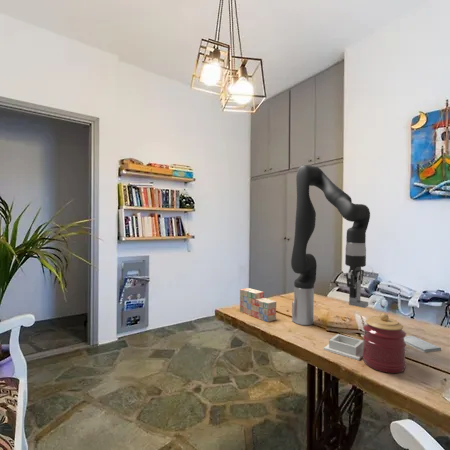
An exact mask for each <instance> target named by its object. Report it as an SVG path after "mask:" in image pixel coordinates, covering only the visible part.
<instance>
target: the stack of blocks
mask: <svg viewBox="0 0 450 450" xmlns="http://www.w3.org/2000/svg"><path fill="white" fill-rule="evenodd" d="M264 293H265V292H264V291H261V290H259V289H258V290H257V289H253V288H250V287H245V288H240V289H239V312H241V313H243V314H246V315H249V316H251V317H254V318H257V319H259V320H262V321H264V322H266V323H268V322H272V321H276V320H277V301H276V300H272V299H271V298H270V299H269V298H268V297H264V296H265V295H264Z"/></svg>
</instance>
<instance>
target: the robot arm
mask: <svg viewBox="0 0 450 450" xmlns="http://www.w3.org/2000/svg"><path fill="white" fill-rule="evenodd" d="M295 182H296V212H295V220H294V221H295V223H294V224H295V225H294V226H295V227H294V237H293V238H294V240H293V246H292V247H293V248H292V253H291V259H290V264H291V265H290V266H291V269H292V271H293V272H294V273H295V274H299V276H298V277H297V278H296V279H295V280H294V282H293V283H294V285H293V294H294V295H293V301H292V304H291V305H292V308H291V322H293V323H295V324H297V325H301V326H312V325H313V324H314V316H315V315H314V304H315V303H314V301H315V300H314V299H315V296H314V295H315V292H314V291H315V283H316V281H317V280H316V279H317V260H316V257H315V256H314V255H313V254H312V253H307V246H308V243H309V241H310V239H311V237H312V235H313V233H314V230H315V227H316V220H317V219H316V218H317V217H316V216H317V214H316V209H315V207H314V205H313V203H312V200H311V196H310V187H311V186H312V187H313V186H314V187H316V188H317V189H320V190H321V191H322V193H323V194H324V197H325V199H326V200H327V201H328V202H329V203H330V204H331V205H332V206H334V207H335V208H336V209H337V211H338V212H339V214H340V216H341V217H342V218H343V219H345V220H346V221H348V222H353V224H352V226H351V227H349V228H347V229H346V239H345V240H346V244H345V258H344V259H345V265H346V266H347V267H349V269H348V272H346V273H345V277H346V278H345V279H346V287H347V288H350V297H351V298H356V283H358V279H359V280H360V281H361V285H363V281H364V272H365V271H364V269H362V268H364V267H366V265H367V262H366V261H367V246H366V245H367V244H366V241H367V240H366V239H367V238H366V237H367V236H366V235H367V234H366V233H367V230H368V226H369V224H370V223H369V222H370V219H371V211H370V208H369V207H368V206H367V205H366V204H364V203H363V204H361V203H360V204H359V203H353V202H352V198H351V195H349V194H348V193H346V192H345V191H344V190H343V189H341V188H340V187H338V186H337V185H336V184H335V183H334V182H333V181H332V180H331V178H329V177H328V176H327V175H326V174H325V172H324V171H323V170H322V169H321V168H320V167H318V166H315V165H313V166H312V165H308V164H307V165H306V164H304V165H301V166H299V168H298V169H297V172H296V181H295ZM351 283H352V284H351Z"/></svg>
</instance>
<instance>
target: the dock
mask: <svg viewBox="0 0 450 450" xmlns="http://www.w3.org/2000/svg"><path fill="white" fill-rule="evenodd" d="M323 351H327V352H330V353H334V354H335V355H336V354H337V355H340V356H343V357H346V358H350V359H352V360H354V361H361V359H362V358H363V352H364V339H359V338H355V337H351V336H348V335H342V334H341V333H340V334H339V333H337V334H336V335H334V336H332V337H331V338H330V339H328V344H326V345H325V346H324V347H323Z"/></svg>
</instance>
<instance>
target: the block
mask: <svg viewBox="0 0 450 450" xmlns="http://www.w3.org/2000/svg"><path fill="white" fill-rule="evenodd" d="M351 284H352V283H351ZM348 288H349V287H348ZM361 289H362V284H361V281H360V280H359V279H358V283H356V298H351V297H350V288H349V290H348V291H349V292H348V293H349V294H348V295H349V299H348V300H349V301H348V305H349V306H352V307H354V306H355V307H359V308H367V307H368V306H369V302H368V301H364V300H361V294H362V293H361V292H362V291H361Z"/></svg>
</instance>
